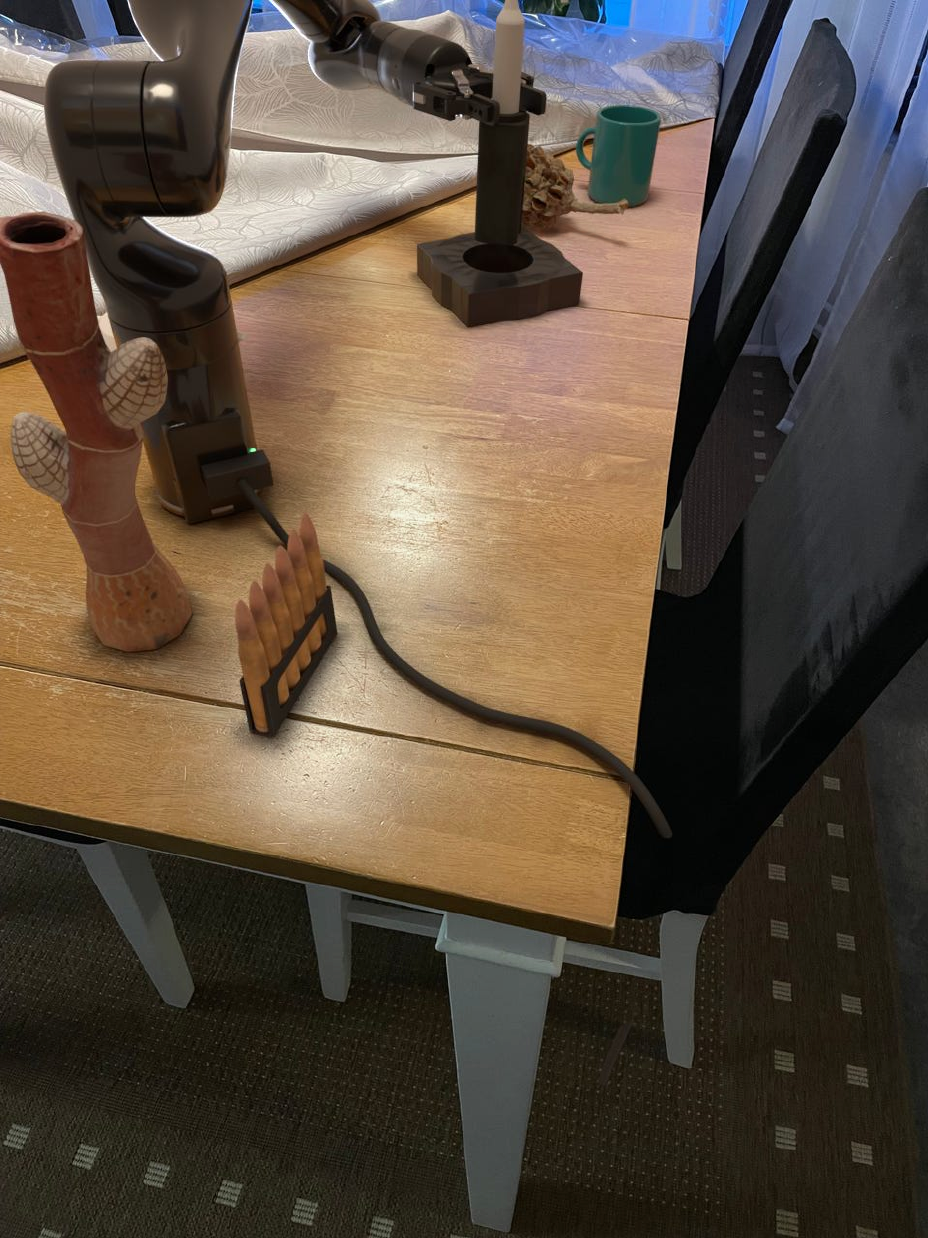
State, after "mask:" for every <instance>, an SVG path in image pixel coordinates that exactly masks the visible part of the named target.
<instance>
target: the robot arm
mask: <svg viewBox="0 0 928 1238" xmlns="http://www.w3.org/2000/svg"><path fill="white" fill-rule="evenodd" d="M268 1H269V2H270V3H271V4H272V5H273V6H274V7H275V8H276V9H277V10H278V11H279V12H280V13H281V14H282V16H283V17H284V18H285V19H286V20H287V21H288V22H289V24H290V25H291V26H292V27H293V28H294V29H295V30H296V31H297V33H299V35H300V36H302V37H303V38H304V39H305V40H307V41H309V42H310V43H309V46H308V50H307V58H308V59H307V60H308V63H309V66H310V68H311V71H312V72H313V73H314V75H315V77H317V78H318V79H319V80H320V81H321V82H323V84H326V85H327V86H329V87H332V88H334V89H337V90H341V91H361V90H375V89H376V90H379V91H381V92H384V93H386V94H388V95H391V96H392V97H394V98H395V99H397V100H398V101H399V102H402V103H403V104H406V105H407V106H410V107H412V109H413V110H415V111H418V112H422V113H424V114H426V115H431V116H434V117H435V118H439V119H441V120H446V121H448V122H452V121H455V120H457V119H456V117H460V118H461V119H463V120H467V121H468V120H472V119H473V120H476V121H477V122H479V121H480V122H483V123H485V124H487V125H490V126H495V125H498V124H499V118H500V105H499V103H498V102H497V101H494V100H492V95H493V75H494V69H490V68H485V66H484V65H481V64H474V63H473V62H472V59H471V57H470V54H469V53H468V52H467V50H466V49H465V47H464V46H462V45H461V44H459V43H457V42H455V41H452V40H449V39H446V38H443V37H440V36H438V35H435V34H432V33H429V32H426V31H423V30H419V29H412V28H406V27H403V26H400V25H398V24H396V23H393V22H390V21H386V20H382V17H381V14H380V12H379V10H378V9H377V7H376V6H375V4H374V3H372V2H371V1H370V0H268ZM127 3H128V8H129V11H130V13H131V16H132V20H133V21H134V24H135V26H136V28H137V29H138V31H139V33H140V35H141V37H142V39H143V40H144V41H145V43H146V44H147V45H148V47H149V48H150V49H151V51H152V53H154V54H155V56H156V57H157V58H158V59H159V60H158V61H157V60H120V59H119V60H118V59H116V60H115V59H69V60H62V61H61V62H58V63H57V64H55V65H54V66H53V67H51V69H50V71H49V72H48V75H47V78H46V80H45V84H44V90H43V91H44V92H43V111H44V112H43V113H44V120H45V129H46V133H47V137H48V142H49V146H50V151H51V155H52V158H53V162H54V165H55V168H56V170H57V173H58V177H59V180H60V184H61V187H62V189H63V192H64V195H65V197H66V200H67V204H68V206H69V208H70V212H71V214H72V215H71V216H72V217H73V220H75V221H76V222H77V223H78V224H79V225H81V226H82V227H83V231H84V235H85V243H86V253H87V260H88V265H89V270H90V274H91V276H92V279H93V281H94V283H95V286H96V287H97V289H98V292H99V293H100V295H101V297H102V301H103V304H104V307H105V312H106V311H107V314H108V318H109V322H110V325H111V329H112V332H113V336H114V339H115V343H116V347H117V348H118V347H119V346H120V345H122V344H124V343H125V342H128V341H130V340H133V339H137V338H142V337H145V338H149V339H151V340H152V341H154V342H155V343H156V344H157V346H158V348H159V349H160V351H161V353H162V356H163V358H164V360H165V365H166V370H167V376H168V384H167V393H166V398H165V403H164V404H163V405H162V407H161V408H160V410H159V411H158V412H157V414H155V415H153V416H151V417H150V418H148V419H146V420H144V421H142V422H143V435H144V436H143V444H142V445H143V447H144V450H145V454H146V457H147V462H148V464H149V468H150V471H151V475H152V479H153V482H154V491H155V493H156V497H157V500H158V502H159V504H160V505H161V506H162V507H163V508H164V509H166V510H167V511H169V512H170V513H172V514H175V515H177V516H180V517H184V519H185V520H186V523H187V524H189V525H191V524H195V523H198V522H199V523H200V522H203V521H207V520H211V519H214V518H215V519H216V518H220V517H223V516H227V515H231V514H234V513H238V512H239V513H240V512H242V511H246V510H250V509H254V508H255V510H256V512H258V514H259V515H260V516H261V518H263V520H264V521H265V523H266V525H268V527H269V528H270V530H272V532H273V534H275V536H276V537H277V538H278V539H279V540H280V541H281V542H282V543H283V544H284V545H285V546H286V548H288V539H289V533H287V531H286V530H285V529H284V528H283V526H282V525H281V524H280V522H279V521H278V519H277V518H276V516H274V514H273V513H272V511H271V509H269V508H268V506H267V505H266V503H265V502H264V501H263V500H262V499H261V497H260V494H261V492H262V490H263V489H265V488H269V487H270V488H271V487H274V479H273V473H272V472H273V471H272V466H271V462H270V460H269V458H268V456H267V454H266V453H265V451H264V449H263V448H262V449H258V445H257V440H256V435H255V428H254V424H253V418H252V413H251V412H252V411H251V407H250V399H249V395H248V389H247V388H248V387H247V384H246V378H245V371H244V366H243V359H242V354H241V353H242V352H241V348H240V342H238V336H237V332H238V330H237V324H236V318H235V312H234V307H233V306H234V305H233V300H232V295H231V290H230V284H229V277H228V275H227V271H226V269H225V266H224V264H223V263H222V261H220V259H219V258H218V257H217V256H215V255H214V254H213V253H211V252H210V251H208V250H207V249H204V248H202V247H200V246H198V245H195V244H192V243H189V242H186V241H184V240H182V239H179V238H177V237H175V236H173V235H171V234H169V233H167V232H165V231H164V230H162V229H160V228H159V227H158V226H156V225H155V224H153V222H152V221H150V220H149V219H147V218H193V217H200V216H203V215H206V214H209V213H211V212H212V211H214V209H216V207H217V206H218V204H219V202H220V201H221V199H222V197H223V194H224V191H225V188H226V185H227V179H228V174H229V164H230V155H231V143H232V142H231V141H232V128H233V114H234V103H235V102H234V101H235V89H236V82H237V75H238V69H239V64H240V58H241V55H242V50H243V47H244V42H245V38H246V36H247V35H246V34H247V31H248V28H249V23H250V19H251V13H252V9H253V4H254V0H127ZM534 83H535V77H534V76H532V75H530V74H528V73H526V72H524V71H522V70H521V84H520V99H519V106H521V107H523V108H525V109H526V112H527V113H529V114H533V115H535V116H541V115H545V114H546V108H547V99H548V97H547V93H546V91H544V90H541V89H538V88H536V87H534ZM322 559H323V563H324V570H325V573H327V574H329V575H331V576H333V577H334V578H335V579H336V580H338V581H339V582H341V583H342V584H343V585H344V586H345V587H346V588H347V589H348V591H349V592H350V593H351V594H352V595H353V597H354V599H355V601H356V603H357V605H358V607H359V609H360V612H361V615H362V617H363V621H364V624H365V626H366V629H367V631H368V633H369V635H370V638H371V639H372V641H373V643H374V644H375V646H376V648H377V649H378V650H379V652H380V653H381V654H382V655H383V656H384V657H385V658H386V660H388V662H390V664H391V665H393V667H395V668H396V670H398V671H399V672H400V673H402V674H403V675H404V676H405V677H406V678H408V679H409V680H410V681H412V683H414V684H416V685H417V686H418V687H420V688H421V689H423V690H425V691H427V692H429V693H430V694H432V695H433V696H435V697H437V698H439V699H441V700H443V701H445V702H447V703H448V704H451V705H453V706H454V707H456V708H458V709H461V710H463V711H465V712H467V713H469V714H471V715H474V716H476V717H479V718H481V719H484V720H487V721H491V722H494V723H498V724H500V725H501V724H502V725H505V726H509V727H516V728H518V729H519V728H520V729H525V730H529V731H535V732H539V733H543V734H547V735H550V736H554V737H557V738H560V739H564V740H565V741H567V742H570V743H572V744H574V745H576V746H578V747H580V748H582V749H583V750H585V751H586V752H588V753H590V754H591V755H593V756H594V757H596V758H597V759H599V760H600V761H602V762H603V763H604V764H606V765H607V766H608V767H609V768H610V769H612V771H614V772H615V773H616V774H618V775H619V776H620V777H621V778H622V779H623V780H624V782H625V783H626V784H627V785H628V786H629V787H630V789H631V790H632V791H633V792H634V794H635V795H636V796H637V798H638V799H639V801H640V802H641V804H642V805H643V807H644V809H645V810H646V812H647V814H648V815H649V817H650V819H651V821H652V823H653V824H654V826H655V828H656V830H657V833H658V834H659V836H661V837H662V838H664V839H671V838H672V837H673V831H672V830H671V827H670V825H669V823H668V821H667V819H666V817H665V816H664V814H663V811H662V810H661V808H660V807H659V805H658V803H657V802H656V800H655V798H654V797H653V795H652V794H651V791H649V789H648V788H647V786H646V785H645V784H644V783H643V781H642V780H641V779H640V777H638V775H637V774H636V773H635V772H634V771H633V770H632V769H631V768H630V767H629V765H627V764H626V763H625V762H624V761H622V760H621V759H620V758H619V757H618V756H617V755H615V754H614V753H612V752H611V751H610V750H609V749H607V748H605V747H604V746H603V745H601V744H599V743H598V742H596V741H595V740H593V739H591V738H590V737H588V736H586V735H584V734H582V733H581V732H578V731H577V730H574V729H571V728H570V727H566V726H564V725H561V724H558V723H555V722H552V721H547V720H543V719H538V718H534V717H529V716H523V715H518V714H514V713H509V712H506V711H505V712H504V711H501V710H497V709H493V708H491V707H488V706H485V705H482V704H480V703H477V702H475V701H474V700H473V701H472V700H470V699H469V698H467V697H464V696H462V695H460V694H458V693H456V692H454V691H453V690H450V689H448V688H447V687H444V686H442V685H441V684H438V683H437V682H435V681H434V680H431V679H430V678H428V677H427V676H425V675H424V674H422V673H421V672H420V671H418V670H416V668H414V667H413V666H412V665H410V664H409V663H408V662H407V661H406V660H404V659H403V657H402V656H400V655H399V654H398V653H397V652H396V651H395V650H394V649H393V648H392V647H391V645H390V644H389V643H388V642H387V640H386V639H385V637H384V636H383V635H382V633H381V630H380V628H379V626H378V623H377V620H376V618H375V615H374V612H373V610H372V607H371V604H370V602H369V601H368V598H367V596H366V594H365V592H364V591H363V590H362V588H361V587H360V586H359V584H358V583H357V582H356V581H355V580H354V579H353V578H352V577H351V576H350V575H349V574H348V573H347V572H345V571H344V570H343V569H341V568H340V567H339V566H336V565H335V564H333V563H332V562H329V561H327V560H326V559H324V558H322ZM634 1022H635V1018H634V1019H631V1020H630V1021H627V1022H626V1023H624V1024H622V1025H620V1026H619V1028H618V1031H617V1032H616V1034H615V1037H614V1040H613V1041H612V1043H611V1046H610V1048H609V1050H608V1053H607V1056H606V1058H605V1061H604V1063H603V1066H602V1068H601V1071H600V1074H599V1077H598V1080H597V1082H598V1084H599V1086H603V1087H605V1086H606V1084H607V1083H608V1079H609V1076H610V1074H611V1072H612V1069H613V1067H614V1065H615V1062H616V1059H617V1057H618V1055H619V1053H620V1051H621V1049H622V1046H623V1044H624V1042H625V1040H626V1038H627V1036H628V1034H629V1032H630V1030H631V1027H632V1026H633V1023H634Z"/></svg>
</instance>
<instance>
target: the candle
mask: <svg viewBox="0 0 928 1238" xmlns="http://www.w3.org/2000/svg"><path fill="white" fill-rule="evenodd" d="M525 23H526V20H525V18H524V15H523V13H522V11H521V9H520V4H519V0H505V1H504V4H503V7H502V9H501V10H500V12H499V14H498V15H497V16H496V20H495V34H494V35H495V36H494V37H495V39H494V54H493V55H494V57H493V70H494V75H493V95H492V100H494V101H497V102H498V103H499V105H500V118H499V124H498V125H495V126H490V125H487V124H485V123H483V122H480V121H478V140H477V141H478V143H477V165H476V166H477V167H476V169H477V170H476V188H475V189H476V190H475V191H476V194H475V218H474V232H475V240H476V241H478V242H482V243H490V244H499V245H514V244H516V243H517V240H518V235H519V234H520V233H521V226H522V225H523V224H522V211H523V198H524V185H525V172H526V159H527V146H528V144H529V132H530V120H531V118H530V117H531V114H530V112H528V111H526V109H525V108H523V107H521V106H519V99H520V84H521V71H522V68H523V55H524V53H523V52H524V39H525Z"/></svg>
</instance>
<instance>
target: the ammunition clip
mask: <svg viewBox="0 0 928 1238" xmlns="http://www.w3.org/2000/svg"><path fill="white" fill-rule="evenodd" d="M288 535H289V539H288V547H287V550H286V549H285V547H284V546H283V545H278V547H277V549H276V552H275V559H274V567H273V565H272V564H270V562H266V563H265V565H264V567H263V571H262V577H261V578H262V579H261V583H262V587H261V585H260V584H259V583H258V581H256V580H253V581H252V582H251V584H250V587H249V592H248V605H247V603H246V602H245V601H244V600H243V599H239V600H238V601H237V602H236V606H235V612H234V613H235V614H234V623H235V631H236V637H237V643H238V645H237V654H238V659H239V663H240V667H241V672H242V676H241V677H240V679H239V681H238V682H239V686H240V691H241V696H242V700H243V705H244V710H245V716H246V720H247V726H248V729H249V732H252V733H255V734H259V735H261V736H264V737H267V738H275V737H276V736H277V734H278V732H279V731H280V729H281V727H282V726H283V724H284V723H285V721H286V719H287V717H288V716H289V714H290V712H291V711H292V709H293V708H294V706H295V704H296V703H297V701H298V699H299V697H300V696H301V695H302V693H303V691H304V689H305V688H306V687H307V685H308V683H309V681H310V679H311V678H312V676H313V675H314V673H315V672H316V669H317V668H318V666H319V665H320V664H321V661H322V660H323V658H324V656H325V655H326V653H327V651H328V650H329V648H330V647H331V645H332V643H333V642H334V640H335V638H336V637H337V635H338V629H337V621H336V613H335V607H334V599H333V593H332V586H331V585H328V584H327V577H326V571H325V570H324V563H323V559H324V558H323V557H322V554H321V550H320V545H319V541H318V535H317V531H316V528H315V525H314V523H313V521H312V518H311V516H310V515H309V514H308V513H307V512H303V513H302V515H301V518H300V523H299V533H298V531H297V530H296V529H295V528H291V529H290V532H289V533H288Z"/></svg>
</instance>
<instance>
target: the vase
mask: <svg viewBox="0 0 928 1238" xmlns="http://www.w3.org/2000/svg"><path fill="white" fill-rule="evenodd" d="M0 267H1V269H2V272H3V276H4V280H5V285H6V288H7V295H8V298H9V304H10V308H11V314H12V319H13V324H14V327H15V330H16V334H17V337H18V341H19V344H20V346H21V348H22V349H23V351H24V353H25V354H26V356H27V358H28V360H29V362H30V363H31V365H32V366H33V368H34V370H35V372H36V374H37V375H38V377H39V379H40V381H41V383H42V385H43V386H44V388H45V390H46V392H47V394H48V396H49V398H50V401H51V403H52V405H53V407H54V409H55V411H56V413H57V416H58V417H59V419H60V421H61V423H62V426H63V427H64V430H65V431H64V430H63V429H61V428H60V427H59V426H58V425H56V424H54V423H53V422H51V421H50V420H48V419H47V418H45V417H43V416H42V415H40V414H36V413H33V412H29V411H27V412H25V411H21V412H20V413H16V415H14V417H13V419H12V423H11V427H10V448H11V455H12V458H13V461H14V464H15V466H16V468H17V471H18V473H19V475H20V476H21V477H22V478H23V480H24V481H25V482H26V484H28V486H29V487H30V488H31V489H34V490H35V491H38V492H39V493H41V494H43V495H46V496H47V497H49V498H51V499H52V500H53V501H55V502H57V503H58V504H59V505H60V506H61V511H62V514H63V516H64V518H65V521H66V523H67V525H68V527H69V528H70V530H71V532H72V534H73V536H74V537H75V539H76V541H77V544H78V546H79V548H80V550H81V553H82V555H83V558H84V563H85V565H86V583H85V584H86V585H85V606H86V612H87V617H88V619H89V620H88V621H89V623H90V626H91V628H92V630H93V632H94V633H95V634H96V636H97V637H98V639H99V641H100V642H101V644H102V645H103V646H105V647H109V648H112V649H117V650H120V651H123V652H127V653H133V652H142V651H152V650H157V649H159V648H161V647H163V646H164V645H166V644H167V643H170V642H171V641H172V640H174V639H176V638H178V637H179V636H180V635H181V634H182V632H183V630H184V629H185V627H186V626H187V623H188V622H189V621H190V618H191V617H192V615H193V612H192V608H191V602H190V599H189V594H188V592H187V589H186V586H185V584H184V581H183V580H182V578H181V576H180V574H179V572H178V571H177V570H176V568H175V567H174V565H173V564H172V563H171V561H170V560H169V559H168V558H167V557H166V556H165V555H164V554H163V553H162V552H161V550H160V549H159V548H158V547H157V545H156V544H155V543H154V542H153V539H152V537H151V534H150V532H149V529H148V527H147V525H146V522H145V520H144V517H143V515H142V512H141V511H142V510H141V509H140V505H139V503H138V498H137V495H136V482H137V476H138V472H139V466H140V462H141V458H142V451H143V445H144V444H143V436H144V435H143V422H142V421H144V420H146V419H148V418H150V417H151V416H153V415H155V414H157V412H158V411H159V410H160V408H161V407H162V405H163V404H164V403H165V398H166V393H167V384H168V376H167V370H166V365H165V360H164V358H163V356H162V353H161V351H160V349H159V348H158V346H157V344H156V343H155V342H154V341H152V340H151V339H149V338H145V337H142V338H137V339H133V340H130V341H128V342H125V343H124V344H122V345H120V346H119V347H118V348H117V349H115V350H114V351H112V352H111V351H110V350H109V348H108V346H107V345H106V343H105V341H104V338H103V335H102V333H101V330H100V327H99V323H98V318H97V316H98V313H97V309H96V304H95V297H94V291H93V285H92V278H91V270H90V267H89V264H88V260H87V253H86V243H85V235H84V231H83V227H82V226H81V225H79V224H78V223H77V222H76V221H75V220H74V219H72V218H69V217H66V216H63V215H60V214H55V213H51V212H48V211H47V212H46V211H30V212H22V213H20V214H18V215H5V216H1V217H0Z"/></svg>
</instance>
